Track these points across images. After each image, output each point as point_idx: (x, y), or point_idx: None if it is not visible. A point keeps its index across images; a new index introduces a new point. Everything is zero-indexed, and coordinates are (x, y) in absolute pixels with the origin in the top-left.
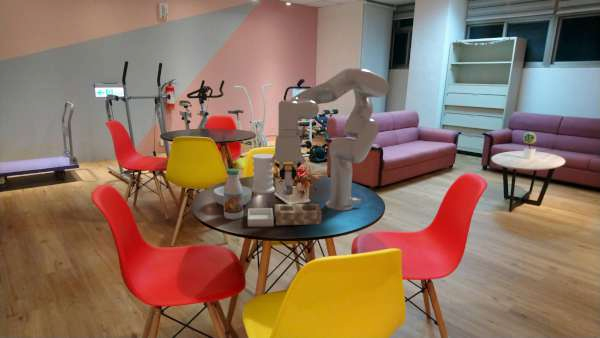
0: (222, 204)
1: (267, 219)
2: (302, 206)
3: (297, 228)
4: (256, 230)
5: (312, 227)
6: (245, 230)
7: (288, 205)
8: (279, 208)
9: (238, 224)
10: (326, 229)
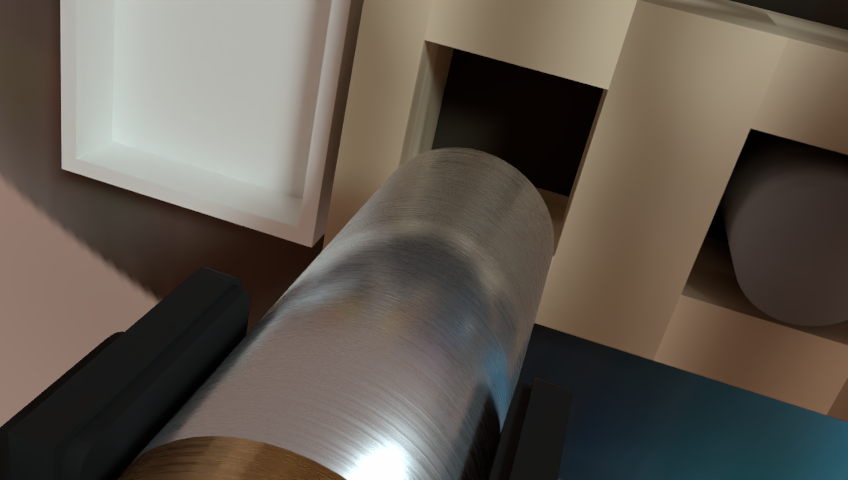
0: None
1: (251, 226)
2: (764, 130)
3: (548, 344)
4: (179, 247)
5: (707, 380)
6: (92, 214)
7: (560, 46)
8: (397, 123)
9: (29, 62)
10: (820, 469)
